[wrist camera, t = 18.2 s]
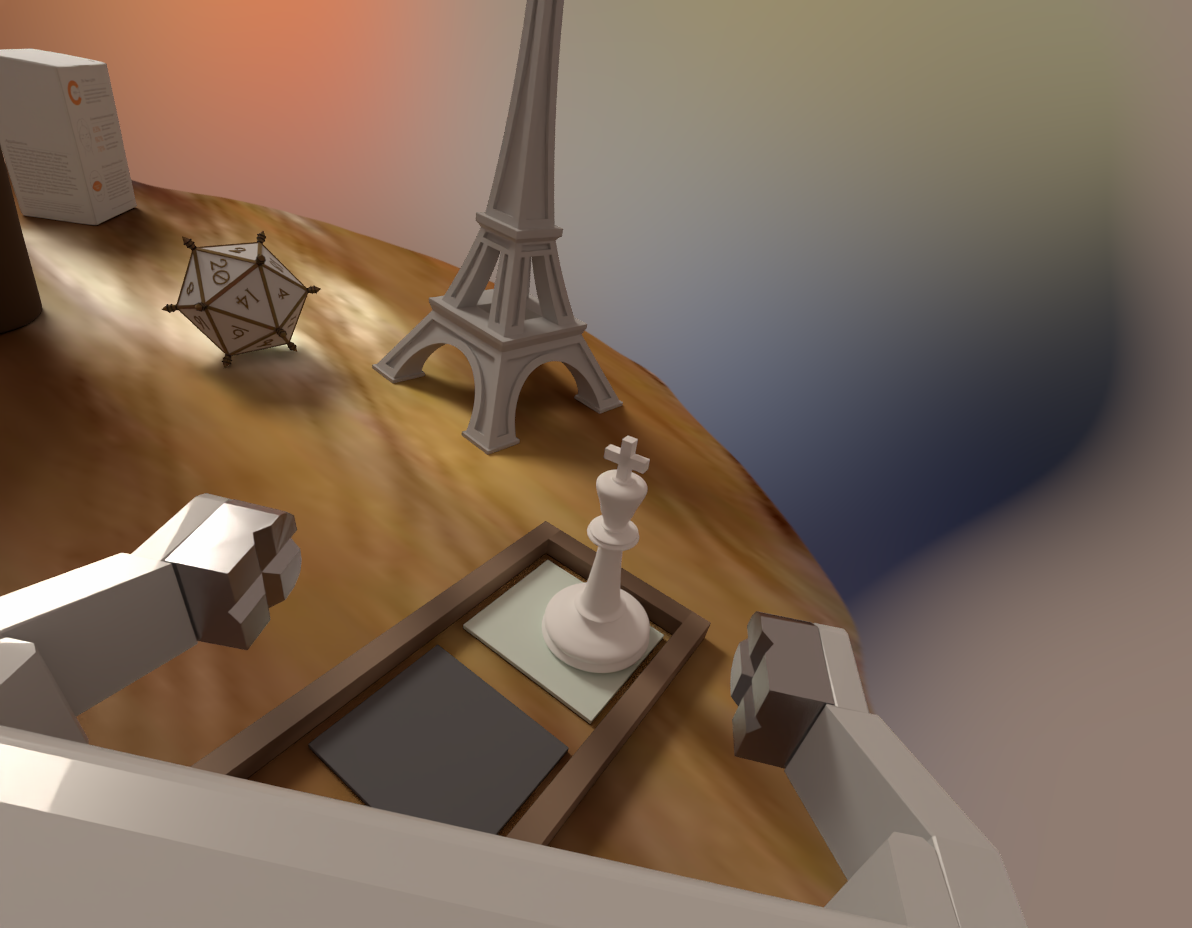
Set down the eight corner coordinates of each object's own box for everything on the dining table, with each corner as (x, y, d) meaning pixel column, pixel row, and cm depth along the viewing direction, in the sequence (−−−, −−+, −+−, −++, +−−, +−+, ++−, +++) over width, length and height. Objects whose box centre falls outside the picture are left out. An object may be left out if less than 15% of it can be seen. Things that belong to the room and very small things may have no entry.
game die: (280, 403, 46) (323, 334, 39) (144, 368, 41) (166, 282, 34) (297, 310, 50) (339, 232, 43) (175, 267, 45) (200, 172, 38)
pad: (590, 724, 25) (591, 721, 24) (463, 627, 27) (463, 624, 27) (662, 637, 29) (664, 634, 29) (547, 562, 32) (547, 559, 32)
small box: (69, 197, 64) (30, 47, 57) (138, 207, 65) (109, 62, 58) (18, 215, 57) (-33, 48, 50) (97, 227, 58) (57, 65, 51)
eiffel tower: (372, 369, 46) (366, -201, 29) (509, 340, 55) (563, -107, 38) (487, 456, 39) (561, -216, 23) (621, 407, 48) (743, -99, 32)
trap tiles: (171, 1222, 13) (169, 1220, 13) (24, 967, 16) (21, 964, 16) (567, 750, 23) (568, 747, 23) (437, 647, 26) (437, 644, 26)
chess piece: (576, 577, 31) (604, 397, 26) (665, 621, 29) (714, 437, 24) (519, 638, 27) (538, 441, 22) (618, 693, 25) (664, 492, 20)
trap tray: (-792, 2617, 6) (-912, 2740, 5) (-741, 1452, 10) (-806, 1455, 9) (704, 637, 30) (710, 622, 29) (543, 535, 33) (545, 521, 33)
